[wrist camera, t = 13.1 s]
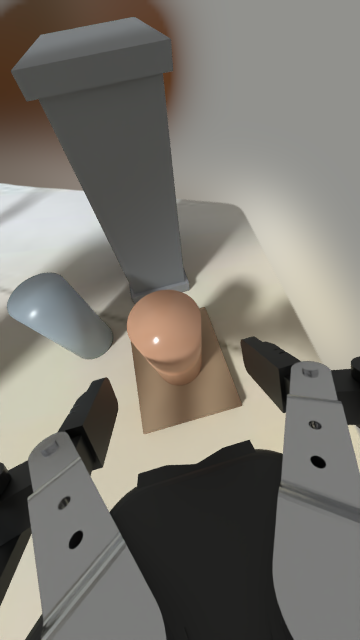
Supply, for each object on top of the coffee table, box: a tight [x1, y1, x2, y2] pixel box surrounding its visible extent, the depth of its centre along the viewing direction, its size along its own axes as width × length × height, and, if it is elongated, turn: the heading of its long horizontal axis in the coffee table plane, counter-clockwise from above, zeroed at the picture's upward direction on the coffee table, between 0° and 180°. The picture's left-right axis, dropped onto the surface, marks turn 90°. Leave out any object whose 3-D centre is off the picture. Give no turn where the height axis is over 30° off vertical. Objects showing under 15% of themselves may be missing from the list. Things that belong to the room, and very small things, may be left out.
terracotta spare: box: [127, 290, 202, 386], centre depth 17 cm, size 5×5×10 cm
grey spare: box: [7, 273, 113, 359], centre depth 21 cm, size 5×5×10 cm
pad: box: [131, 307, 242, 434], centre depth 22 cm, size 10×12×1 cm
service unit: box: [11, 17, 189, 304], centre depth 22 cm, size 8×14×20 cm, turn 14°
